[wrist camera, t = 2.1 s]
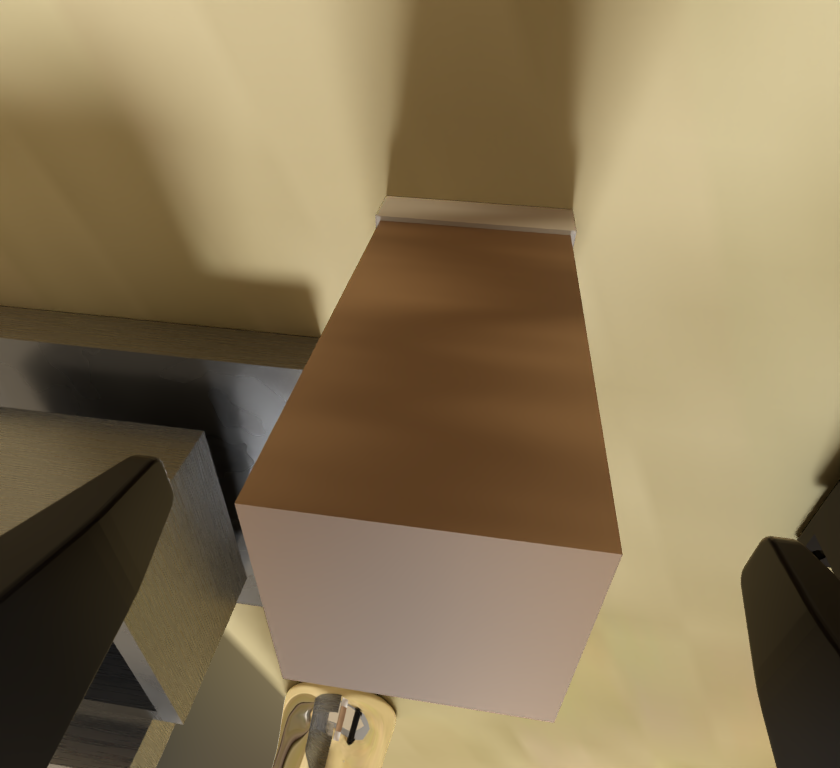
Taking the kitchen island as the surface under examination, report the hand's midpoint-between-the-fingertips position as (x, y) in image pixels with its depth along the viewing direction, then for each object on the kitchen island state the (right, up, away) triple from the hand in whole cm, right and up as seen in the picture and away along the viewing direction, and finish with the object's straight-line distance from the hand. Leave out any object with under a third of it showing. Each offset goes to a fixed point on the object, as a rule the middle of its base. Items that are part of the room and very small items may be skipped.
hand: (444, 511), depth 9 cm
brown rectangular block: (+1, +4, +6) cm, 7 cm away
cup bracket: (-9, -1, +11) cm, 15 cm away
